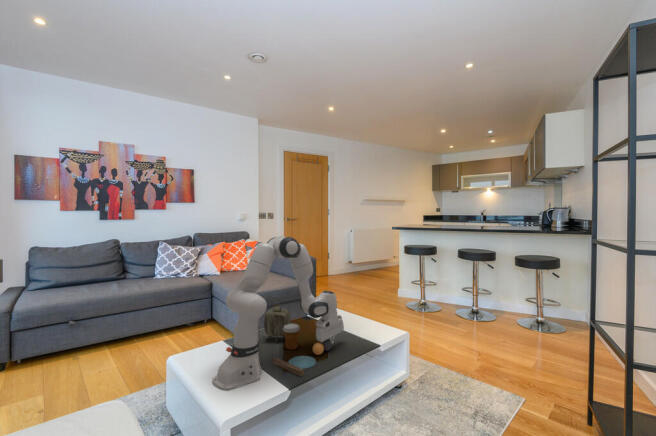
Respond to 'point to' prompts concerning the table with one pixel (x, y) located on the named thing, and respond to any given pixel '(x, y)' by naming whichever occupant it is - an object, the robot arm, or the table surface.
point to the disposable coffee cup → (291, 335)
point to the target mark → (302, 362)
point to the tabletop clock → (276, 320)
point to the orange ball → (318, 348)
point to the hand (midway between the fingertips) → (331, 343)
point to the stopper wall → (288, 367)
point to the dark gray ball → (327, 345)
